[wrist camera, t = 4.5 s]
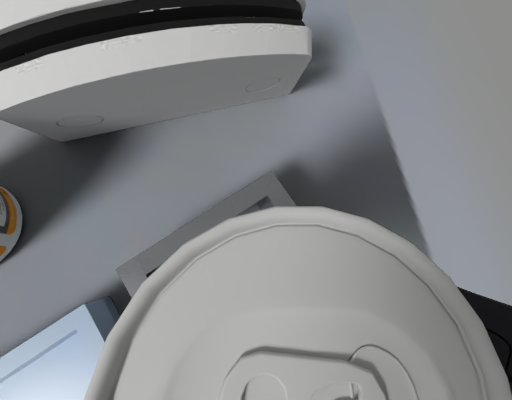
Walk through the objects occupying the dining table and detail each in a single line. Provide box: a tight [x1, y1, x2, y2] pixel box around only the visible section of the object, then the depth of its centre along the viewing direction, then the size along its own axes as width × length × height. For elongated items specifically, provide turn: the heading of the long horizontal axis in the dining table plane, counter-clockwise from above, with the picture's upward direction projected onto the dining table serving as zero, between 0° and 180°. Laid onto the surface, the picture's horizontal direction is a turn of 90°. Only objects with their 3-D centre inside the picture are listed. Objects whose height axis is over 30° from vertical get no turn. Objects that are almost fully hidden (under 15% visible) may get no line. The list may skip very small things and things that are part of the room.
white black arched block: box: [0, 0, 312, 142], centre depth 14 cm, size 17×5×10 cm, turn 107°
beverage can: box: [84, 206, 512, 400], centre depth 8 cm, size 5×5×12 cm
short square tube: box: [116, 171, 297, 298], centre depth 13 cm, size 9×9×4 cm
